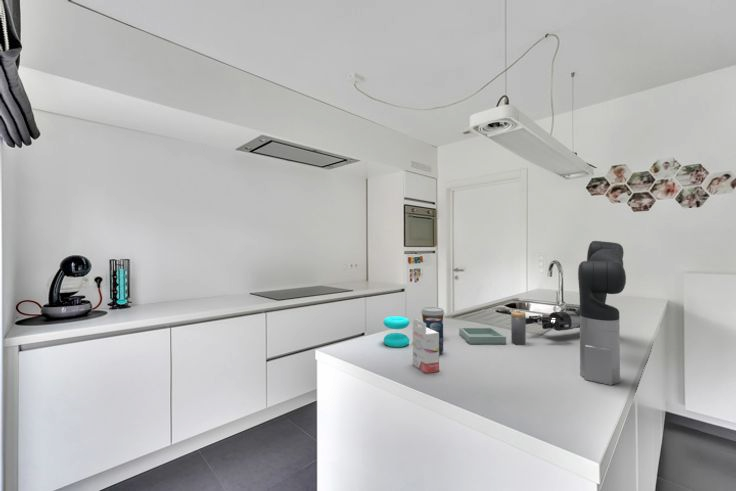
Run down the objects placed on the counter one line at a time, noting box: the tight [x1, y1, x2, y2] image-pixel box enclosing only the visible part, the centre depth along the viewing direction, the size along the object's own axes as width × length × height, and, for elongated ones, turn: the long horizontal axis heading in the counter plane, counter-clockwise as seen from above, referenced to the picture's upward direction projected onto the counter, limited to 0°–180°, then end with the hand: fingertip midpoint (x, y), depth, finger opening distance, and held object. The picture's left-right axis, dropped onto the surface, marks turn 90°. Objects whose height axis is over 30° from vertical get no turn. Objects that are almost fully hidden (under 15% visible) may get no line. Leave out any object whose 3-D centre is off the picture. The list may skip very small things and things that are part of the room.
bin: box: [458, 327, 507, 346], centre depth 129 cm, size 14×14×3 cm
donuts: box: [382, 315, 410, 348], centre depth 123 cm, size 10×10×10 cm
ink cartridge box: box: [412, 318, 440, 374], centre depth 99 cm, size 9×5×15 cm, turn 21°
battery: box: [510, 309, 527, 346], centre depth 123 cm, size 5×5×13 cm
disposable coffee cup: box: [420, 306, 446, 324], centre depth 131 cm, size 10×10×12 cm
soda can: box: [424, 317, 444, 356], centre depth 113 cm, size 7×7×12 cm
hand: (534, 323), depth 126 cm, fingers open, 8 cm apart
